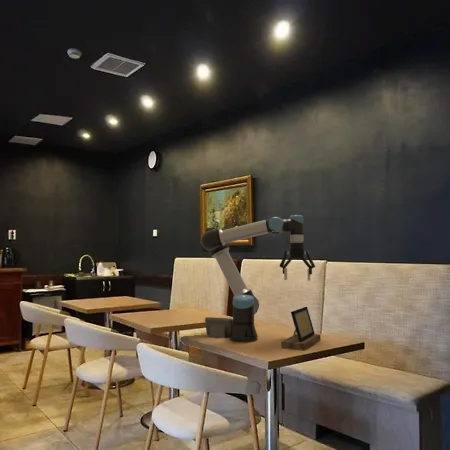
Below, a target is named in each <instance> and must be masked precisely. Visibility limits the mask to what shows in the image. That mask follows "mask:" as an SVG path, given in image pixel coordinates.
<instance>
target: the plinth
mask: <svg viewBox="0 0 450 450" xmlns="http://www.w3.org/2000/svg"><path fill="white" fill-rule="evenodd" d="M320 341H321V334H319V333H315V334H314V335H312V336H310V337H308V338H307V339H305V340H303V341H301V342H299V340H298V336H297V333H296V334H295V336H294V337H293V335H291V336H290V337H288V338H286V339H284V340H282V341H281V342H280V343H281V344H280V347H281V349H289V350H290V349H291V350H298V351H306V350H307V349H309V348H311V347H312V346H314V345H315V344H316V343H319V342H320Z"/></svg>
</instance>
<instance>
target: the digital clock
mask: <svg viewBox="0 0 450 450" xmlns="http://www.w3.org/2000/svg"><path fill="white" fill-rule="evenodd" d="M204 322H205V332H206V333H205V334H206V336H209V338H219V339H226V338H227V337H230V333H231V329H232V326H233V318H229V317H211V316H210V317H207V316H206V317H205V318H204Z"/></svg>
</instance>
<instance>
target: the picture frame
mask: <svg viewBox="0 0 450 450" xmlns="http://www.w3.org/2000/svg"><path fill="white" fill-rule="evenodd" d="M308 309H309V308H308V306H304V307H300V308H299V309H296V310H293V311H290V315H291V318H292V321H293V324H294V329H295V330H294V332H293V335H292V336H293V337H294V336H295V334H297V336H298V340H299V342H301V341H303V340H305V339H307V338H308V337H310V336H312V335H314V334H316V333H315V329H314V327H313V323H312V322H313V321H312V320H311V315H310V312H309V310H308Z"/></svg>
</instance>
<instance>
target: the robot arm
mask: <svg viewBox="0 0 450 450" xmlns="http://www.w3.org/2000/svg"><path fill="white" fill-rule="evenodd" d="M304 225H305V224H304V216H303V215H300V214H294V215H293V214H291V215H290V216H289V218H281V217H279V216H273V217H271V218H268V219H263V220H259V221H255V222H251V223H247V224H243V225H240V226H239V225H238V226H235V227H231V228H227V229H221V228H218V229H214V230H207V231H205V232H204V233H203V234H202V235H201V238H200V244H201V246H202V247H203V249H205V250H206V251H208V252H209V254H210V256H211V258H214V259H215V260H216V262H217V264H218V266H219V268H220V270H221V272H222V274H223V276H224V278H225V280H226V282H227V284H228V285H229V287H230V290H231V292H232V293H233V298H232V323H233V326H232V329H231V333H230V336H229V340H230V341H232V342H238V343H249V342H251V343H252V342H256V341H257V340H258V333H257V330H256V327H255V315H256V314H257V313H258V310H259V309H260V303H259V300H258V298H257V297H256V296H255V295H254V293H253V291H252V289H250V288H248V286H247V285H246V283H245V282H244V280H243V279H244V278H243V277H242V275H241V274H240V272H239V270H238V268H237V266H236V264H235V261H234V260H233V258H232V255H231V254H230V252H229V250H230V247H229V245H228V243H234V242H236V241H242V240H245V239H249V238H250V239H251V238H253V237H258V236H262V235H267V234H271V233H289V239H290V240H289V241H290V243H289V244H290V245H289V246H290V247H289V248H290V249H289V250H285V251H284V255H283V257H282V259H281V262H280V264H279V267H280V268H282V274H283V275H284V276H283V277H284V279H283V280H284V281H287V280H288V268H287V267H288V265H289V264H290V263H291V262H292V260H302V262H303V263H304V264H305V265H306V266H307V282H310V281H311V275H313V269H314V268H316V265H315V263H314V260H313V259H312V256H311V255H310V250H306V251H305V247H304V245H305V244H304V243H303V242H304V238H305V237H304V233H305V232H304ZM289 255H290V256H289ZM304 255H305V256H306V257H307V258H305V256H304ZM288 256H289V257H288ZM287 258H288V259H287Z"/></svg>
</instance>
